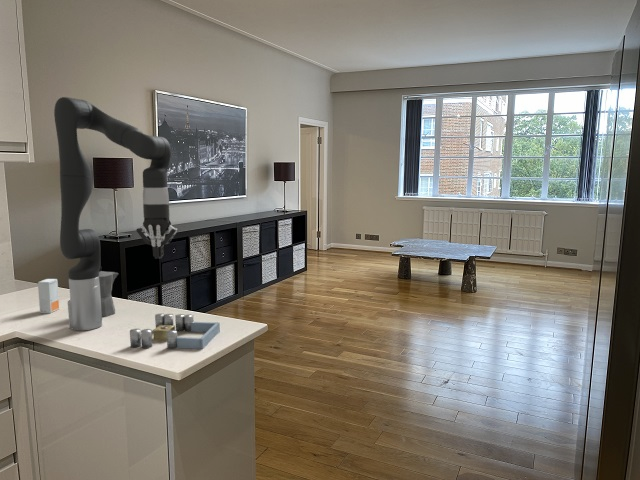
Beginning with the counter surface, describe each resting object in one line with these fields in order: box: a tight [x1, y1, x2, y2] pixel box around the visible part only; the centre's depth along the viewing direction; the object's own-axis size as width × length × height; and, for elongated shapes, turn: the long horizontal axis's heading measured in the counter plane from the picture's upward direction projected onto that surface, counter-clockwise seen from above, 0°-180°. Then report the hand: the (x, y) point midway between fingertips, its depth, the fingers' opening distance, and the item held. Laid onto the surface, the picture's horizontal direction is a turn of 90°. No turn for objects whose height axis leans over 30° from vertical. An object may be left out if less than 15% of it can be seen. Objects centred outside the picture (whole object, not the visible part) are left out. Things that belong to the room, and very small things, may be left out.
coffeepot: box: [99, 266, 120, 318], centre depth 176 cm, size 15×9×18 cm, turn 129°
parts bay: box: [176, 321, 221, 350], centre depth 151 cm, size 10×16×3 cm, turn 174°
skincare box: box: [37, 278, 60, 314], centre depth 181 cm, size 6×4×12 cm
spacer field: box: [129, 313, 195, 350], centre depth 152 cm, size 14×19×5 cm
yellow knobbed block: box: [152, 325, 176, 342], centre depth 152 cm, size 5×5×4 cm
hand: (158, 258), depth 149 cm, fingers closed
